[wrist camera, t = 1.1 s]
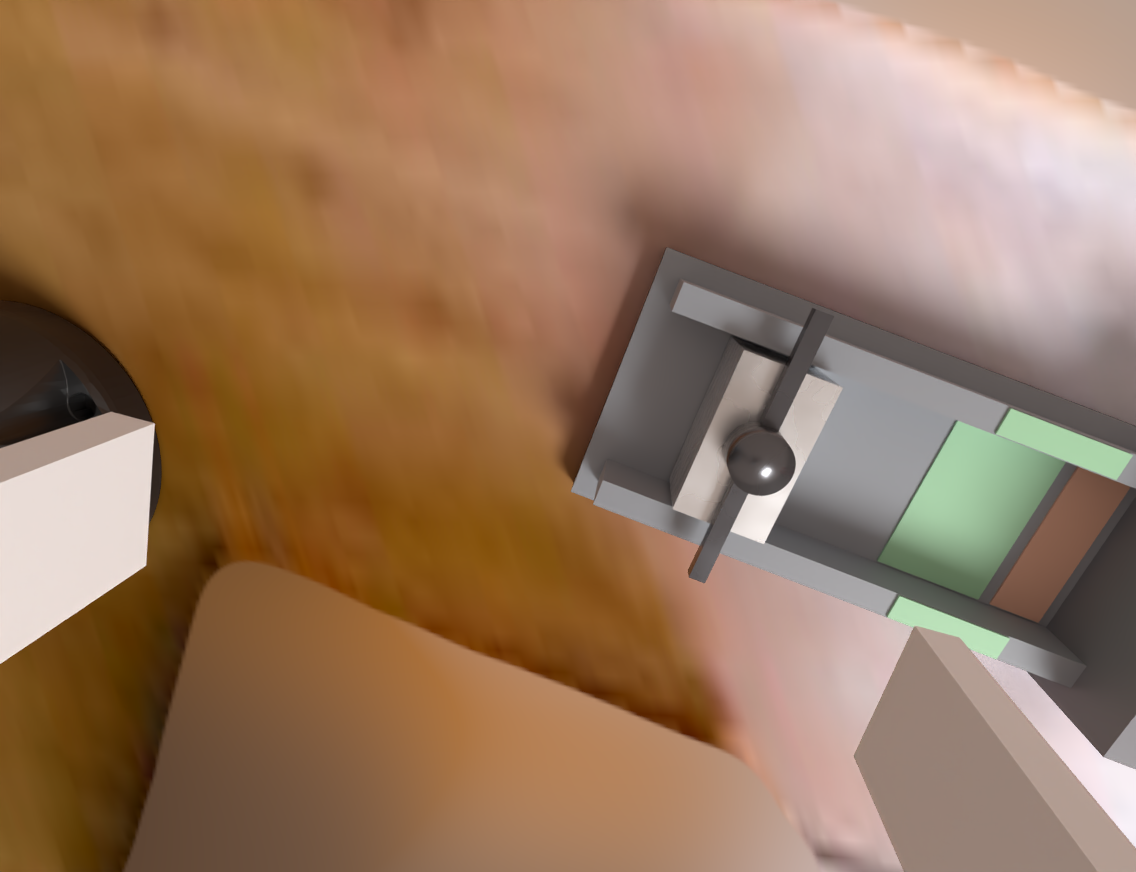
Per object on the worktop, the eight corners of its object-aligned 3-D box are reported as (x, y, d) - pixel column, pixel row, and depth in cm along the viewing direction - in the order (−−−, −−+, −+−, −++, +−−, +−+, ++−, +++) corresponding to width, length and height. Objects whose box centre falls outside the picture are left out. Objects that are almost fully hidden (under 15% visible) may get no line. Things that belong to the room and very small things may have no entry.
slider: (650, 518, 32) (651, 576, 26) (753, 285, 28) (779, 295, 23) (728, 549, 32) (746, 613, 26) (841, 319, 28) (889, 337, 23)
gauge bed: (573, 483, 33) (554, 545, 26) (666, 247, 29) (672, 247, 23) (1064, 671, 33) (1175, 784, 26) (1217, 457, 29) (1392, 522, 22)
